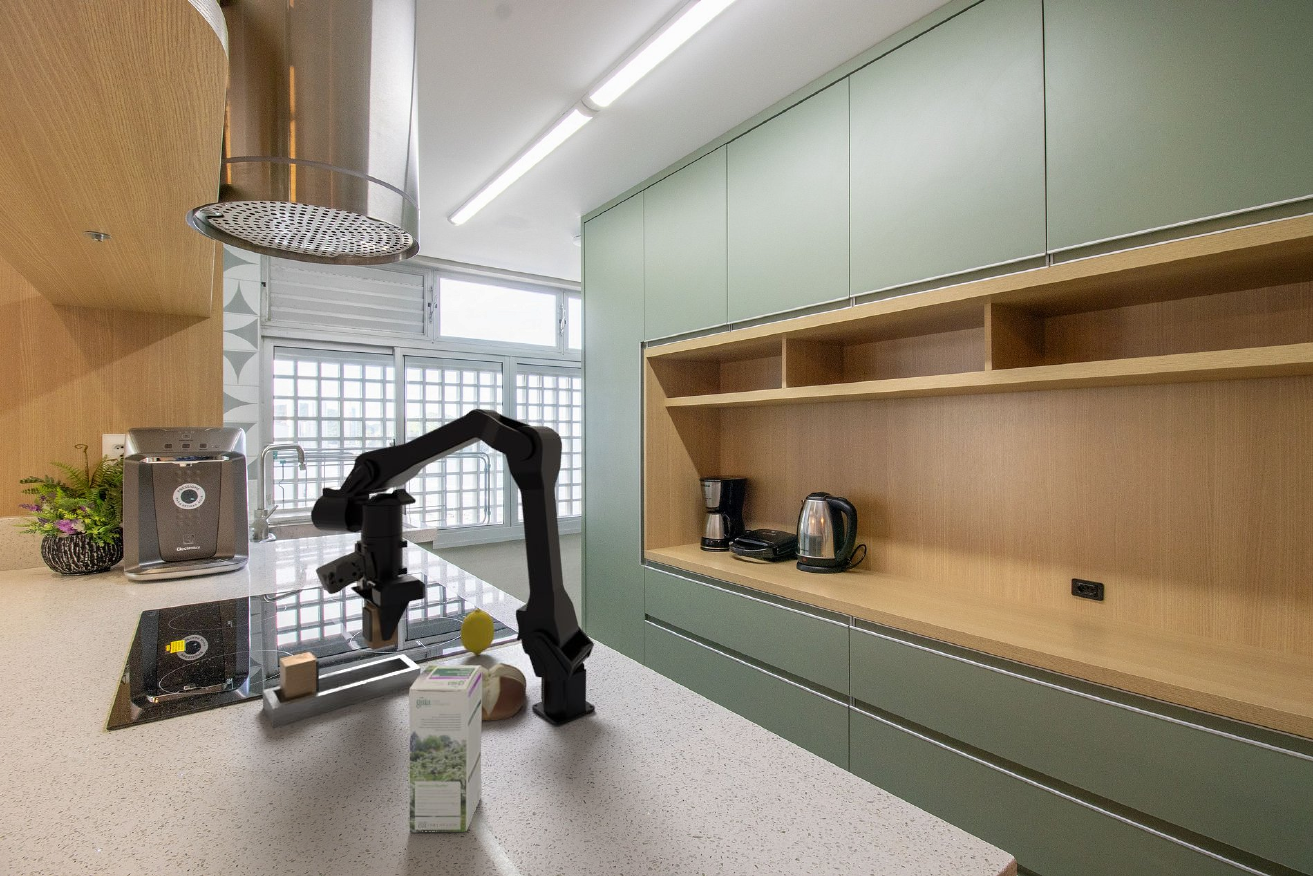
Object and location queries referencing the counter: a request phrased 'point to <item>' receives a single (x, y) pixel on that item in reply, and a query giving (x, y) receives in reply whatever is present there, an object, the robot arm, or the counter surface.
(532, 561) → the robot arm
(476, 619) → the lemon
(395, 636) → the upright wooden block
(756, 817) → the counter surface
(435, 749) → the syrup box
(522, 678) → the bread
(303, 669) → the rail
